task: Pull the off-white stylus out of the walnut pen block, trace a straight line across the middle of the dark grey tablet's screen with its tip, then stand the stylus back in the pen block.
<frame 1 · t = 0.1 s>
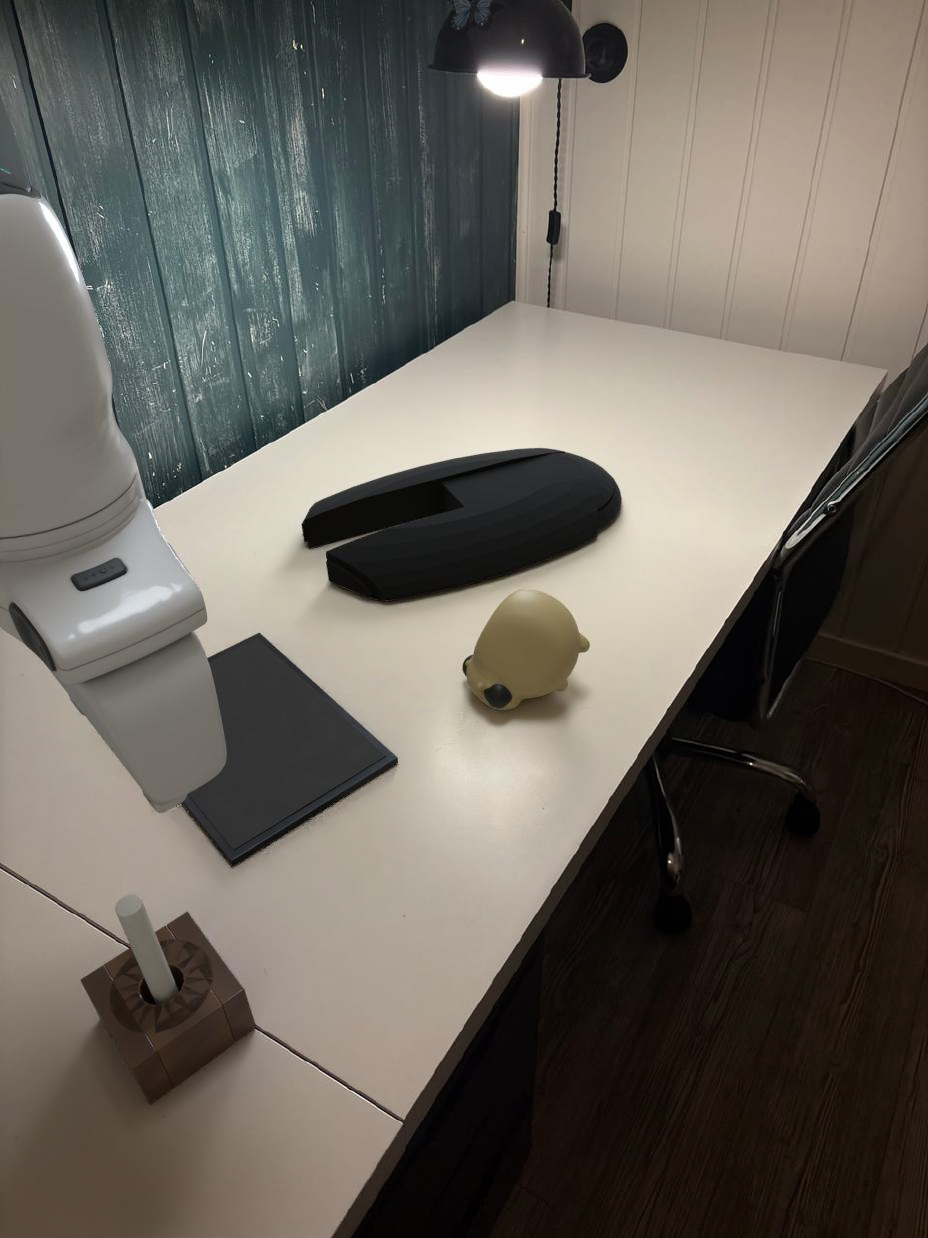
hand: (127, 749, 50), 25 cm above the table, tool pointing down, fingers open, 8 cm apart
stylus: (154, 968, 60), in the hole of the pen block
tablet: (248, 737, 86), on the table
toy pig: (522, 686, 91), on the table
pen block: (177, 1022, 64), on the table
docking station: (471, 523, 115), on the table
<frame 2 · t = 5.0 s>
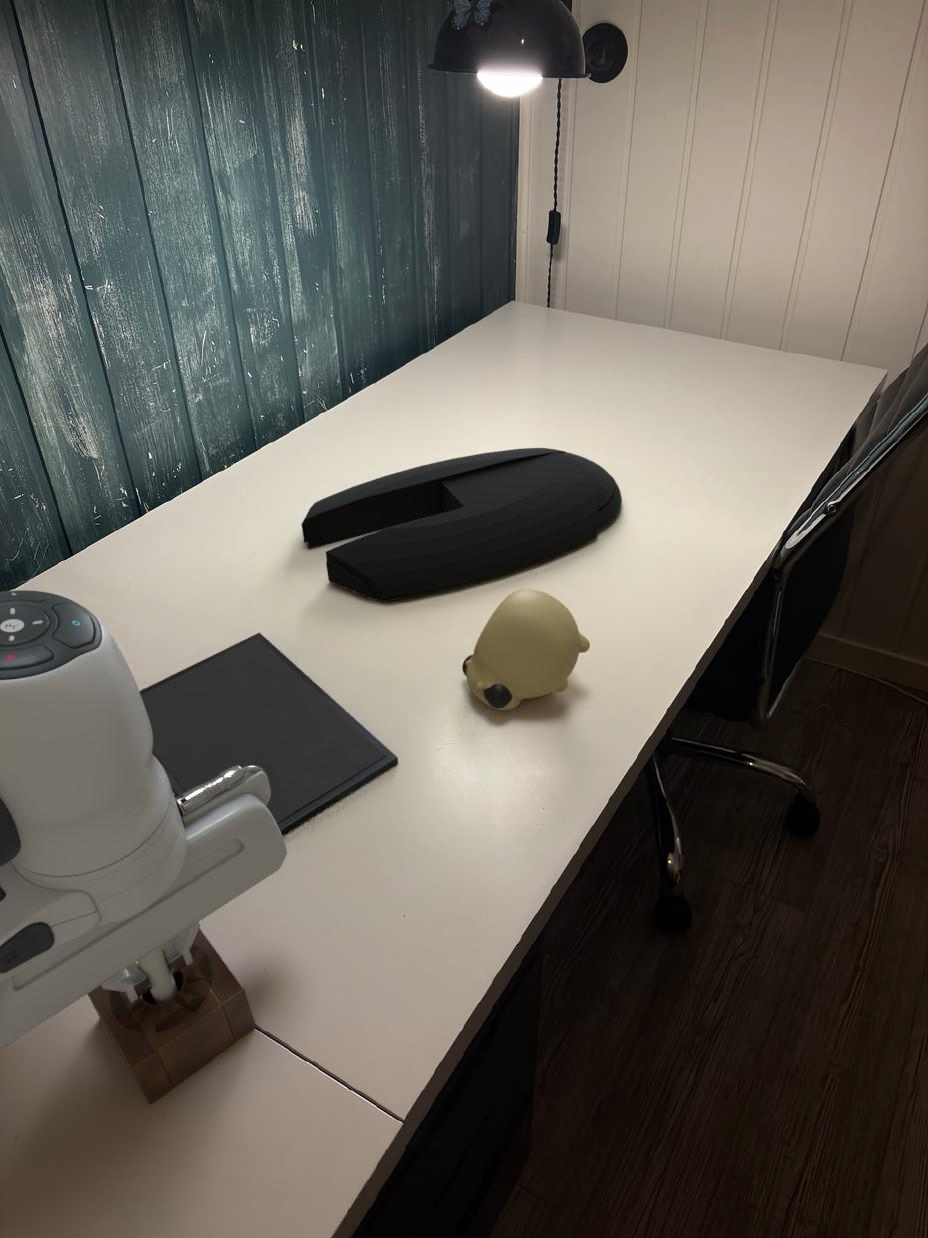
hand: (157, 975, 60), 6 cm above the table, tool pointing down, fingers closed on stylus, 1 cm apart
stylus: (155, 968, 60), in the hole of the pen block, touching gripper
everything else where it was.
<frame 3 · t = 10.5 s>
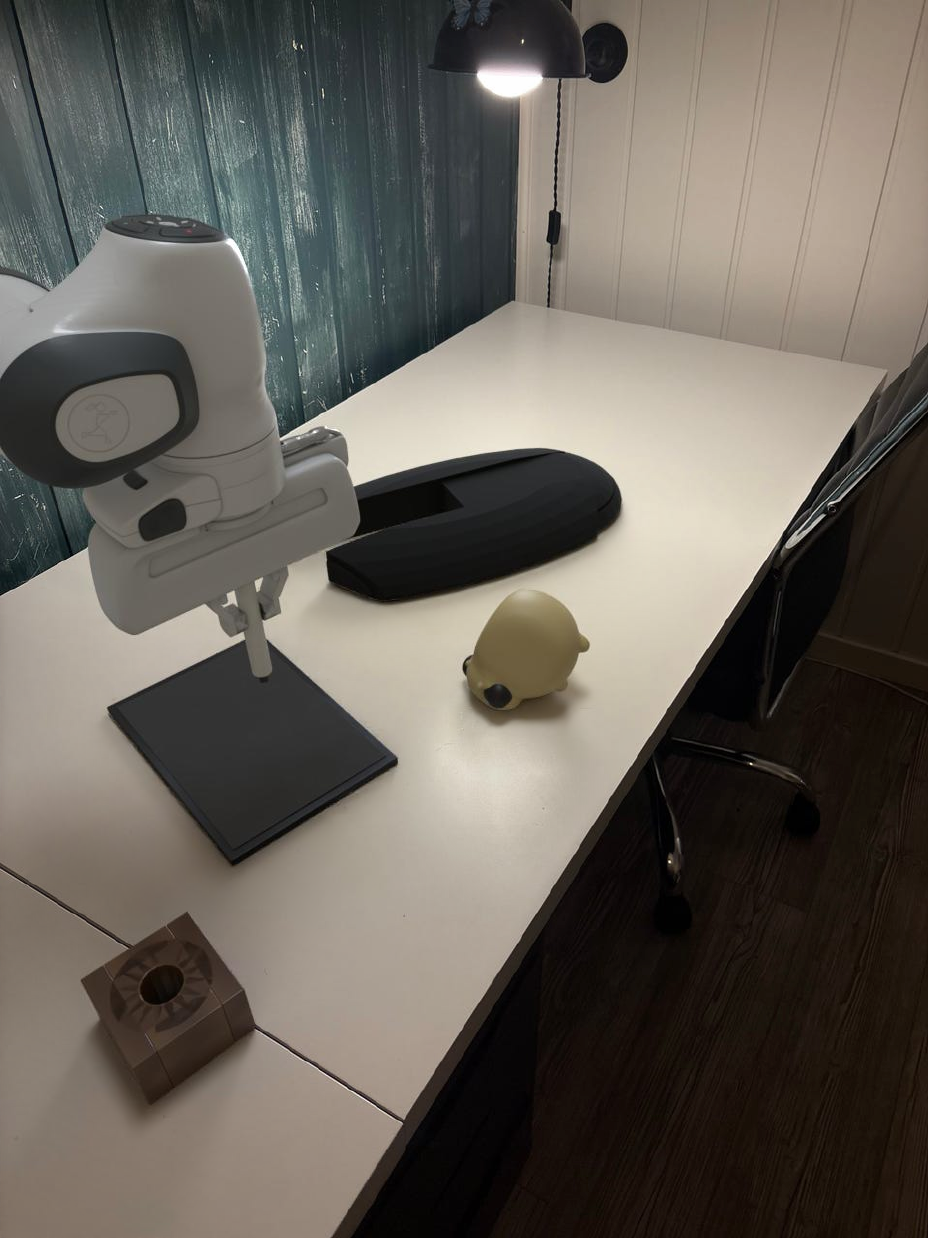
hand: (251, 622, 72), 17 cm above the table, tool pointing down, fingers closed on stylus, 1 cm apart
stylus: (250, 613, 71), point 18 cm above the table, touching gripper
everything else where it was.
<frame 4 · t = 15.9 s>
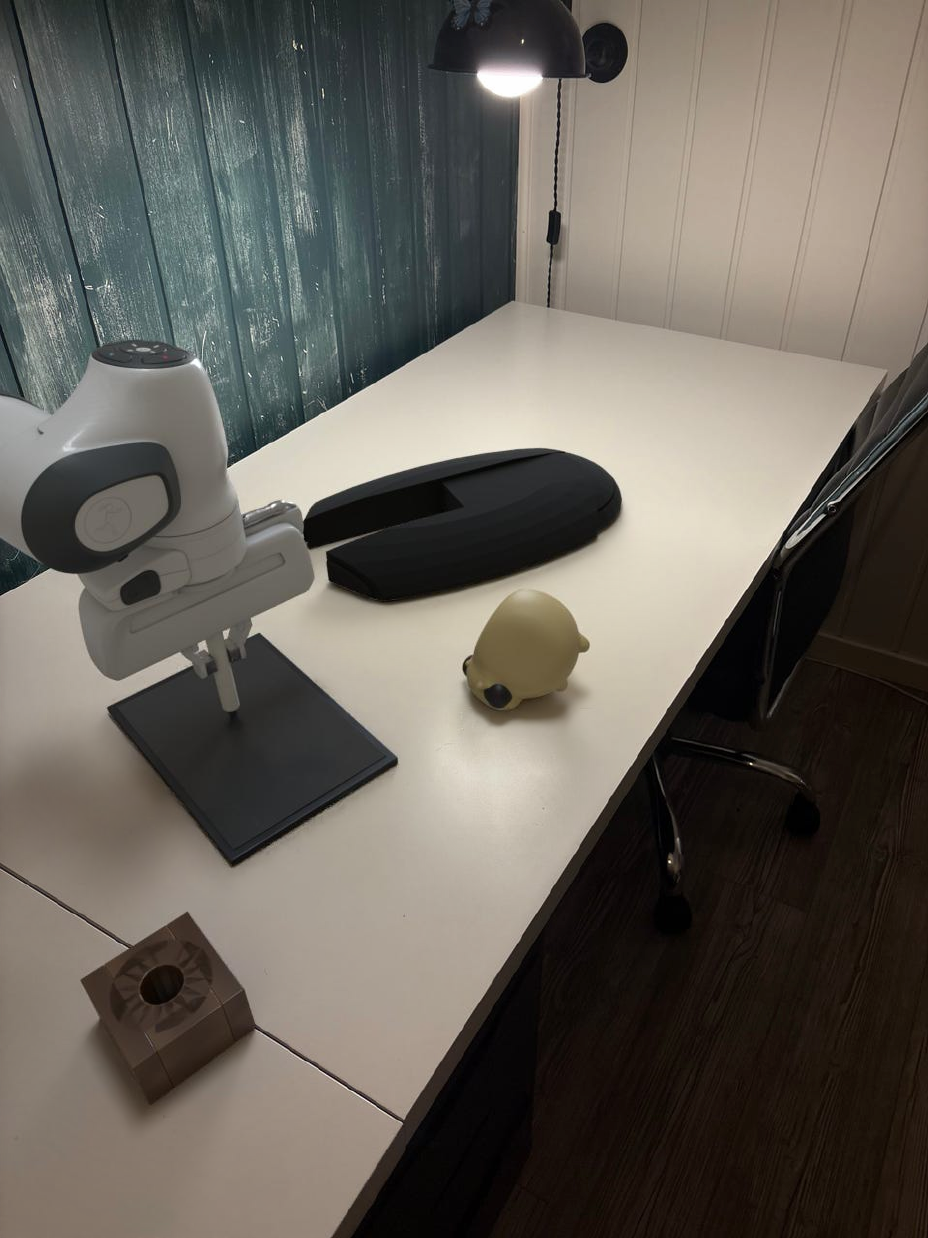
hand: (220, 665, 83), 7 cm above the table, tool pointing down, fingers closed on stylus, 1 cm apart
stylus: (219, 657, 82), point 8 cm above the table, touching gripper
everything else where it was.
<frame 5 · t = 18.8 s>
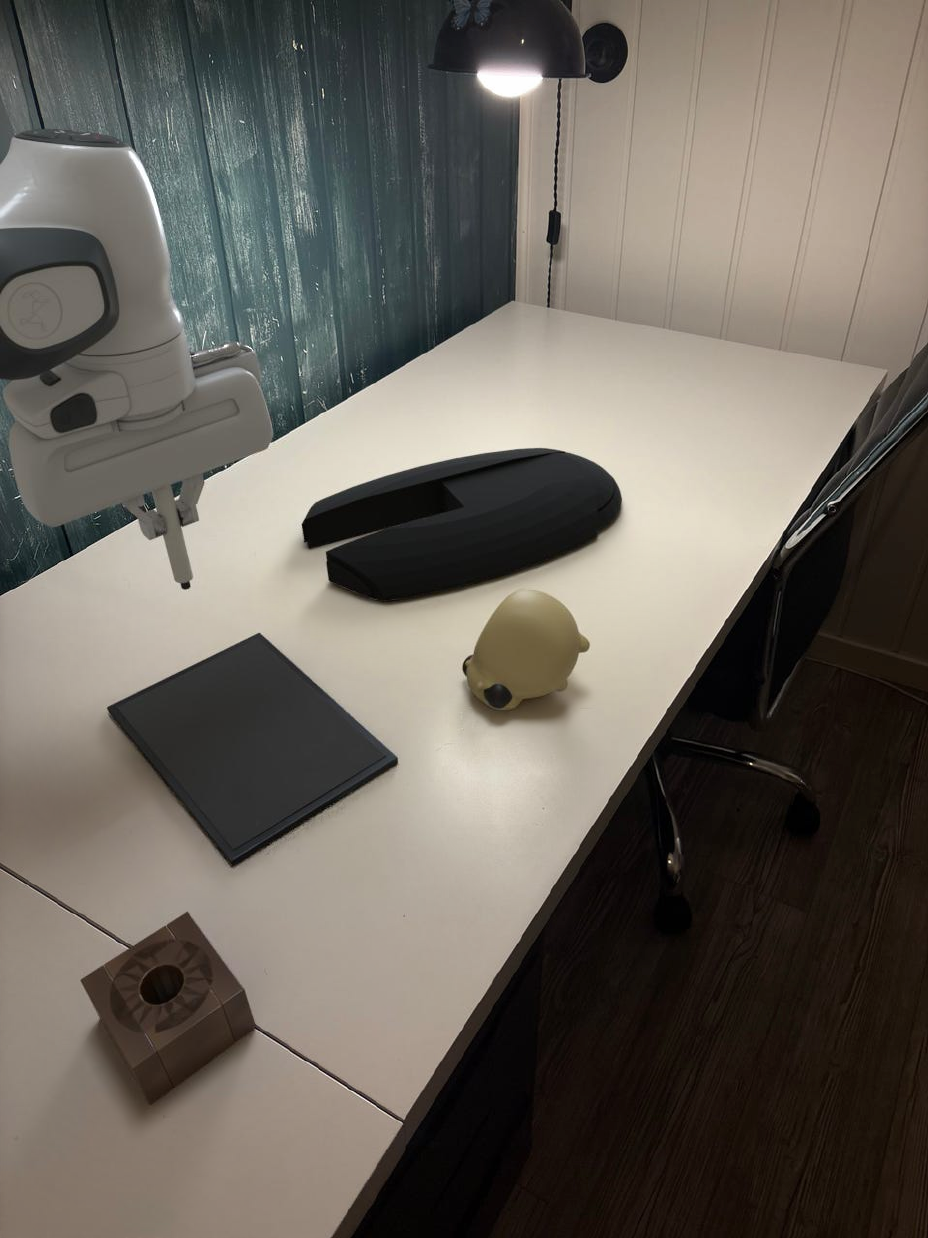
hand: (170, 528, 77), 20 cm above the table, tool pointing down, fingers closed on stylus, 1 cm apart
stylus: (169, 519, 76), point 21 cm above the table, touching gripper
everything else where it was.
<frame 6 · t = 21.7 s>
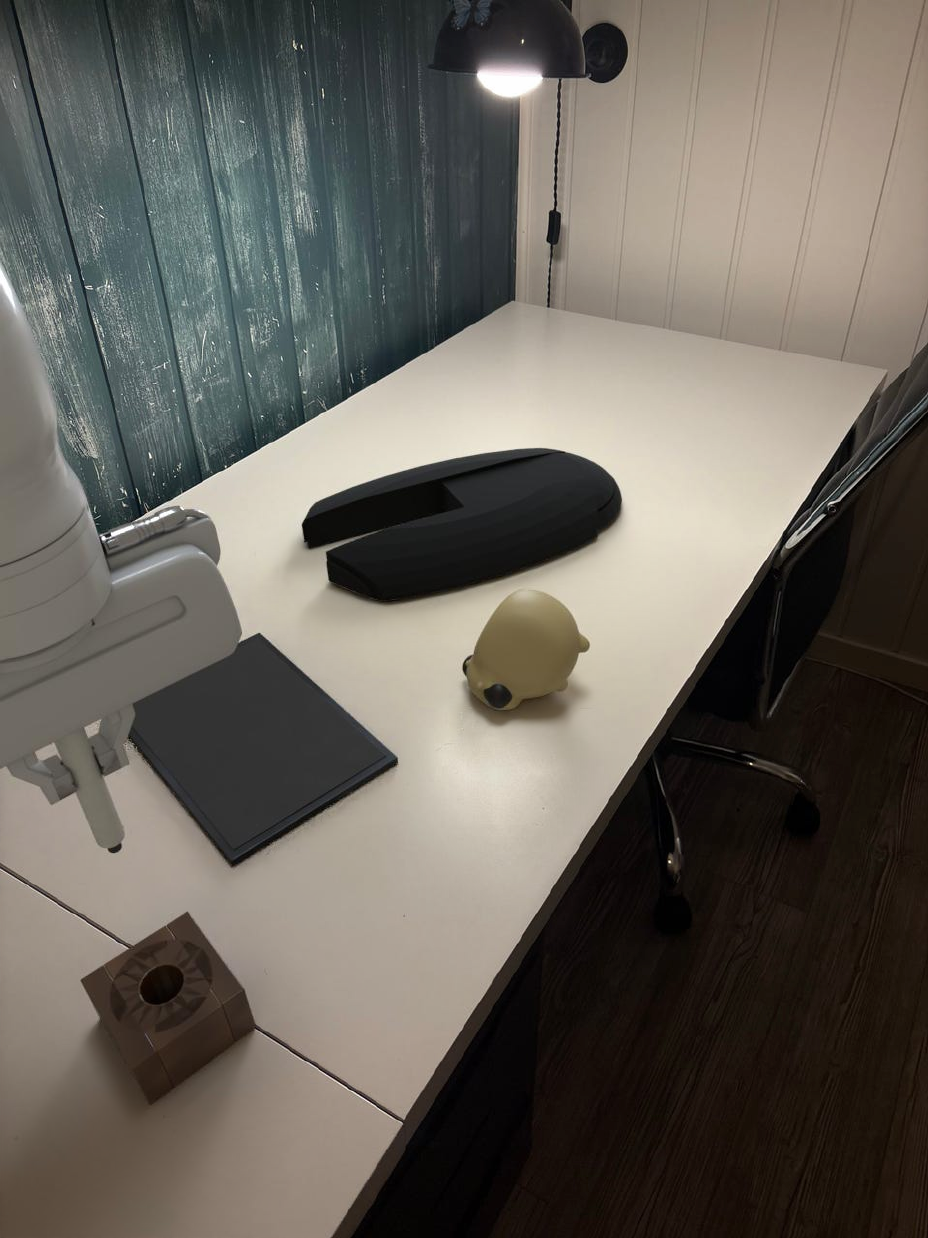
hand: (86, 778, 50), 24 cm above the table, tool pointing down, fingers closed on stylus, 2 cm apart
stylus: (82, 767, 50), point 25 cm above the table, touching gripper
everything else where it was.
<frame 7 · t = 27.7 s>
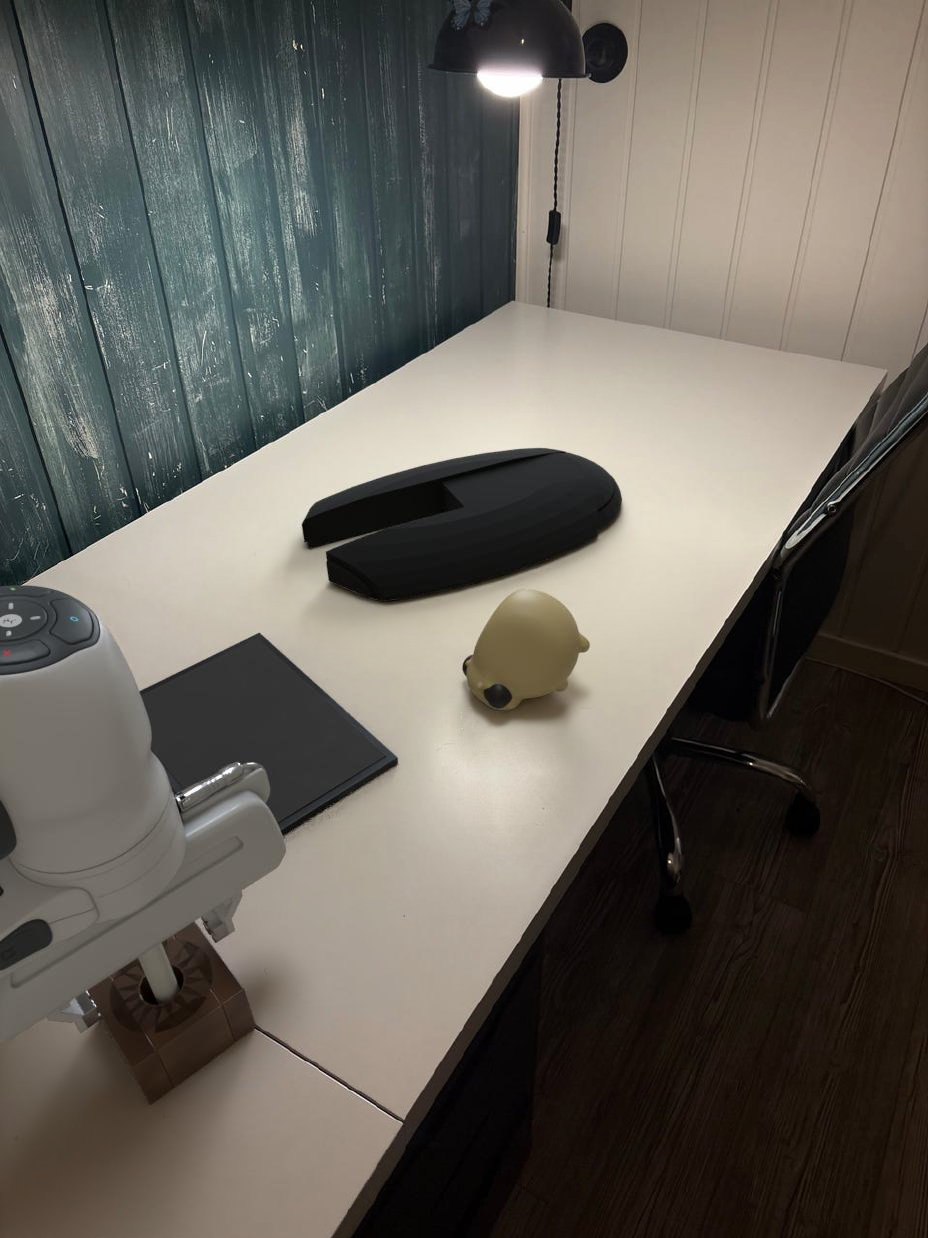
hand: (156, 973, 60), 6 cm above the table, tool pointing down, fingers open, 8 cm apart
stylus: (157, 967, 60), in the hole of the pen block
everything else where it was.
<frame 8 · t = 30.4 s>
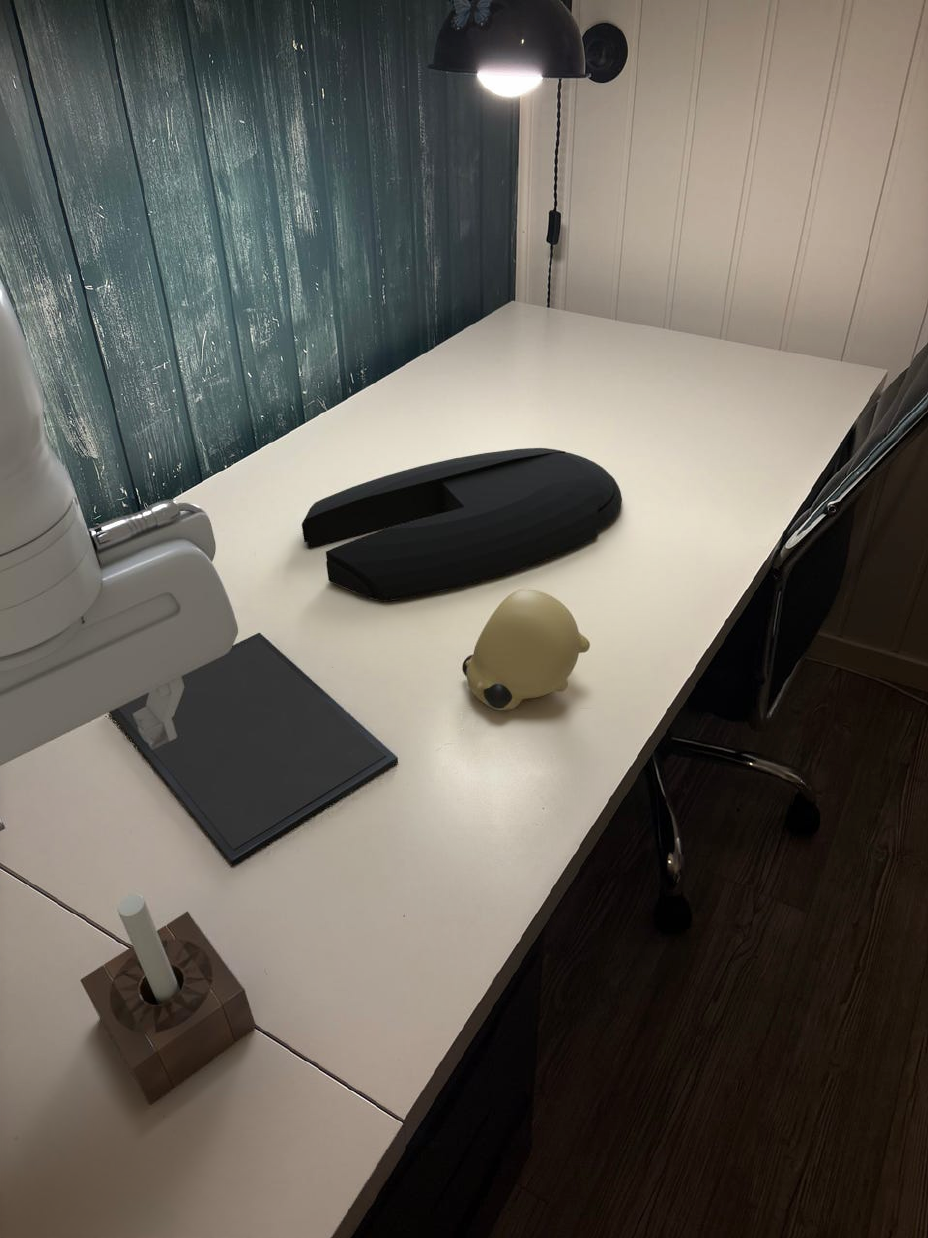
hand: (77, 781, 49), 25 cm above the table, tool pointing down, fingers open, 8 cm apart
nothing on the table moved.
at the end: stylus 0.1 cm off-centre in the pen block, point 7.0 cm above the pen block's base; stylus tilted 0°; stylus touching table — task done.
